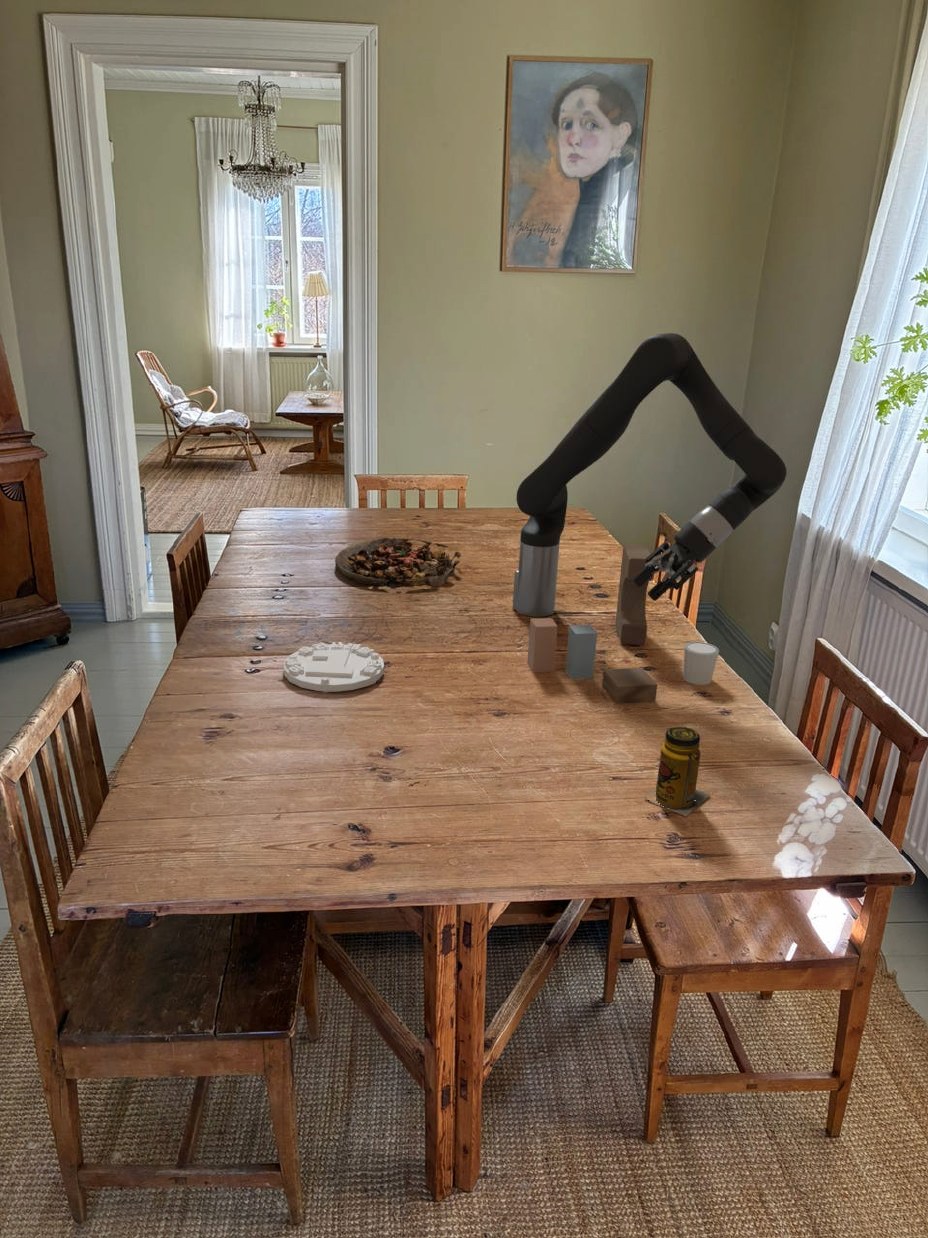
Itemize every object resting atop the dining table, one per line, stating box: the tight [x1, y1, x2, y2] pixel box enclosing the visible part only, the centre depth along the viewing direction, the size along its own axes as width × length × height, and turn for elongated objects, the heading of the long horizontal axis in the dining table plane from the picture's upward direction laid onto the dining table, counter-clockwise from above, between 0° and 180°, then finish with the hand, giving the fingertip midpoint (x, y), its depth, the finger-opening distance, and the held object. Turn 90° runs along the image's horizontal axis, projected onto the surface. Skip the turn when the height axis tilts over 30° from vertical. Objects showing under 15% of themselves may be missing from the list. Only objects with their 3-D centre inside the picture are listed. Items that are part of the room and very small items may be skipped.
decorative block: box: [614, 544, 654, 646], centre depth 210 cm, size 11×6×20 cm, turn 177°
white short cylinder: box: [682, 641, 720, 686], centre depth 192 cm, size 7×7×7 cm
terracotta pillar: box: [527, 617, 558, 673], centre depth 194 cm, size 4×4×10 cm
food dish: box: [334, 536, 462, 588], centre depth 251 cm, size 35×33×8 cm
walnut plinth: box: [601, 666, 658, 705], centre depth 185 cm, size 8×8×4 cm
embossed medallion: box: [283, 641, 385, 694], centre depth 189 cm, size 20×20×3 cm
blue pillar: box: [565, 624, 598, 680], centre depth 191 cm, size 4×4×10 cm
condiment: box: [644, 725, 711, 818], centre depth 148 cm, size 7×8×12 cm
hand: (643, 590), depth 188 cm, fingers open, 8 cm apart
